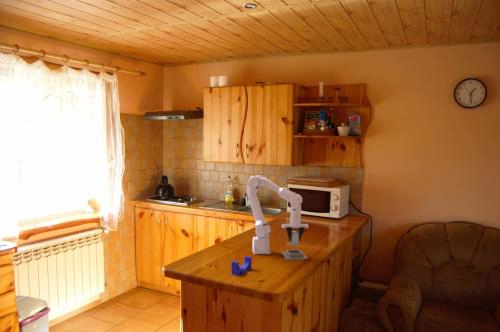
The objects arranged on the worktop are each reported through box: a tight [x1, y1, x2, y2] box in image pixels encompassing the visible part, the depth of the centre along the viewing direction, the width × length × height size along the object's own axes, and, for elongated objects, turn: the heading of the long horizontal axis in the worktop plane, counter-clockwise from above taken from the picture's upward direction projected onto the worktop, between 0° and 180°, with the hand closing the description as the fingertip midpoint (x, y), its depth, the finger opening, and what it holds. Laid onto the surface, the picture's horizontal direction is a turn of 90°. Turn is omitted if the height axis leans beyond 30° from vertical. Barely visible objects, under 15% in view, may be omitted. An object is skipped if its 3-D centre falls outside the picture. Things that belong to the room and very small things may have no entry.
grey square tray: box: [280, 249, 309, 261], centre depth 218 cm, size 12×12×3 cm
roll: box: [290, 230, 300, 247], centre depth 217 cm, size 4×4×7 cm
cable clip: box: [230, 255, 253, 276], centre depth 191 cm, size 12×4×6 cm, turn 143°
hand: (294, 240), depth 217 cm, fingers closed on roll, 4 cm apart
